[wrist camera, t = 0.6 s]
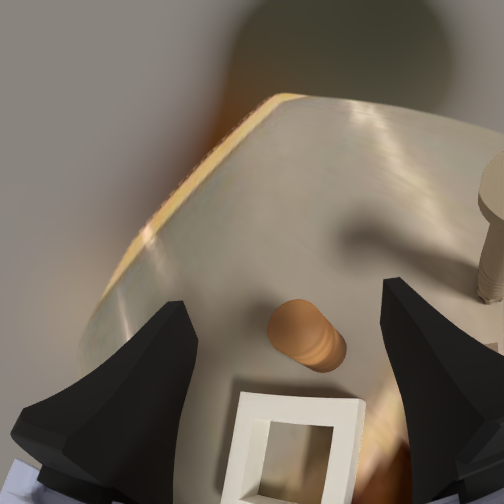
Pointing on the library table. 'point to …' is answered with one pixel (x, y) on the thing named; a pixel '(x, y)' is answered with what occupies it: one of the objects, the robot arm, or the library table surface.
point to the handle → (492, 231)
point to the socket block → (298, 412)
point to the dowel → (306, 336)
